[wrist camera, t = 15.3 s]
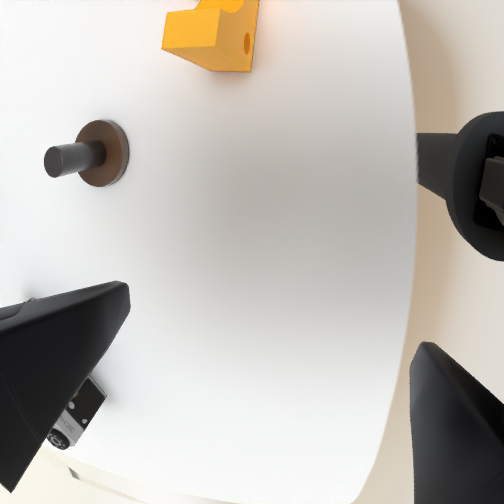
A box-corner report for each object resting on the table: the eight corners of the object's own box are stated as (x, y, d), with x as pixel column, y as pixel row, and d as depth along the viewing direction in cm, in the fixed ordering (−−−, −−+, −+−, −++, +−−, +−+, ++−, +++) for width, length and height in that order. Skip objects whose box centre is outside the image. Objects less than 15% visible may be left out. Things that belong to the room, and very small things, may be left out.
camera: (145, 382, 31) (110, 448, 21) (88, 404, 33) (51, 457, 23) (63, 268, 28) (-3, 307, 18) (16, 309, 30) (-37, 347, 20)
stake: (130, 119, 20) (81, 120, 15) (128, 187, 22) (81, 204, 17) (80, 121, 21) (30, 125, 16) (79, 183, 23) (32, 198, 18)
